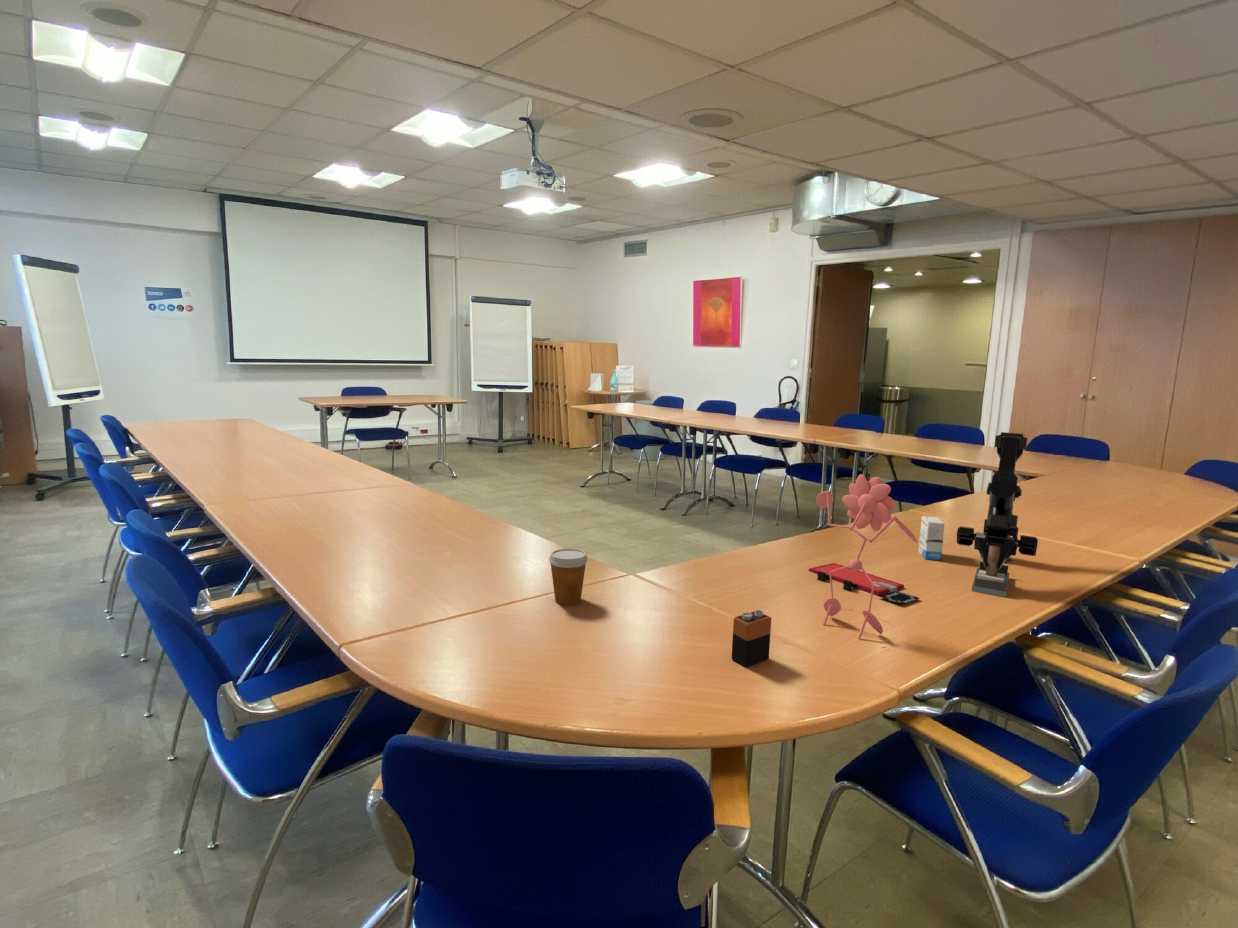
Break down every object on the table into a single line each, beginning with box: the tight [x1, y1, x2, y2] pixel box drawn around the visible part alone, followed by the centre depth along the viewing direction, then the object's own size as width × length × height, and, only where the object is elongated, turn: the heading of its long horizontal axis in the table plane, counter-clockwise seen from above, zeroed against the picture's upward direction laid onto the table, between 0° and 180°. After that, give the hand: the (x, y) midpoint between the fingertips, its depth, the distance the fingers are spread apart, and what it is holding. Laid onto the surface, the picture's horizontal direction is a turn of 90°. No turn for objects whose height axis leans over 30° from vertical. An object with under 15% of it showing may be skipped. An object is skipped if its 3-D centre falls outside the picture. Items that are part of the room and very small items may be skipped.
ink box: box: [918, 515, 945, 561], centre depth 202 cm, size 9×5×12 cm, turn 168°
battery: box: [731, 609, 772, 668], centre depth 131 cm, size 4×7×10 cm, turn 125°
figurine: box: [815, 473, 918, 649], centre depth 147 cm, size 15×26×35 cm, turn 36°
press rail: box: [971, 560, 1010, 598], centre depth 178 cm, size 18×8×4 cm, turn 148°
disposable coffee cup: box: [548, 547, 589, 606], centre depth 160 cm, size 10×10×12 cm
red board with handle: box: [808, 562, 920, 605], centre depth 176 cm, size 30×3×15 cm
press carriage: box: [978, 545, 1005, 583], centre depth 173 cm, size 5×6×10 cm
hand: (992, 567), depth 172 cm, fingers closed on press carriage, 3 cm apart
